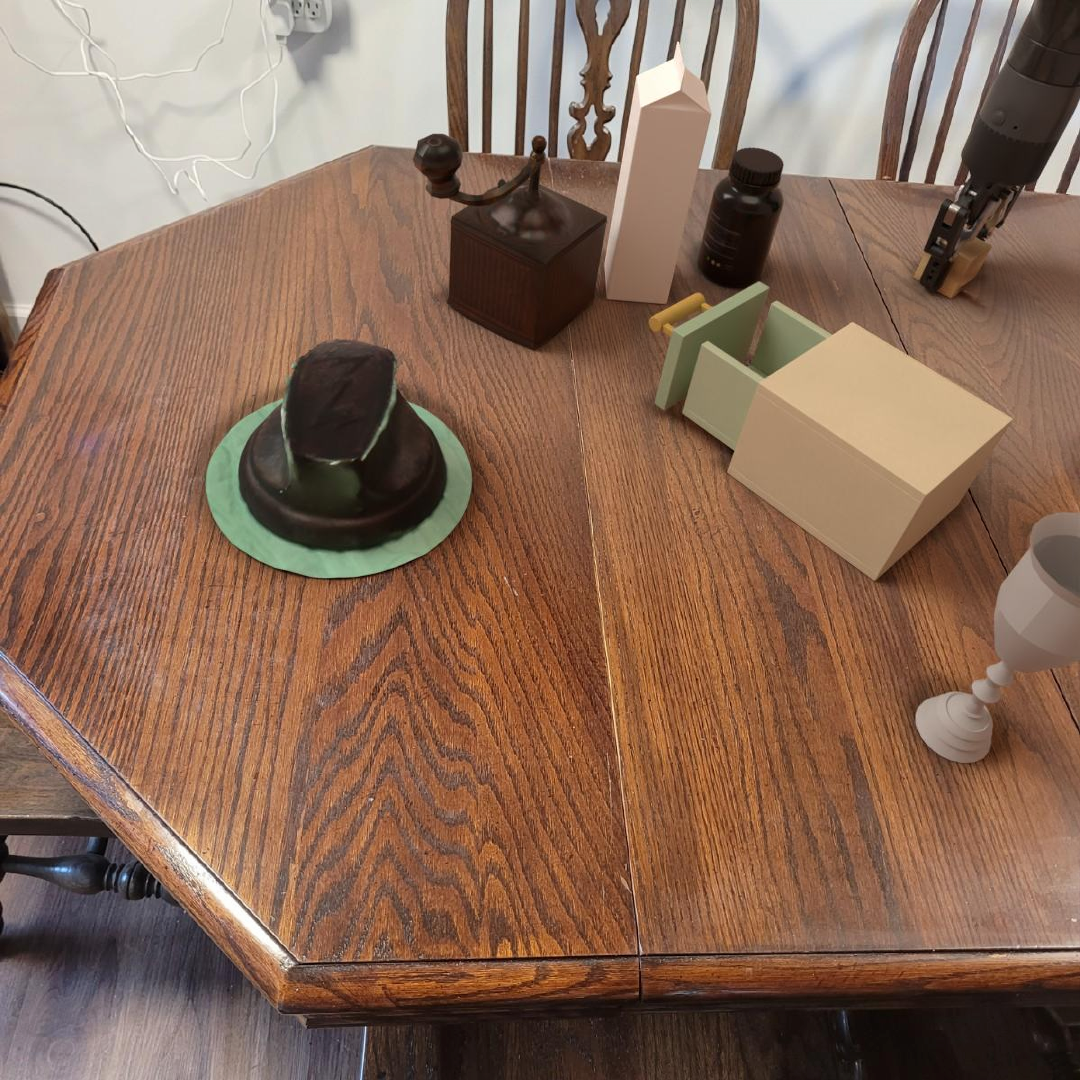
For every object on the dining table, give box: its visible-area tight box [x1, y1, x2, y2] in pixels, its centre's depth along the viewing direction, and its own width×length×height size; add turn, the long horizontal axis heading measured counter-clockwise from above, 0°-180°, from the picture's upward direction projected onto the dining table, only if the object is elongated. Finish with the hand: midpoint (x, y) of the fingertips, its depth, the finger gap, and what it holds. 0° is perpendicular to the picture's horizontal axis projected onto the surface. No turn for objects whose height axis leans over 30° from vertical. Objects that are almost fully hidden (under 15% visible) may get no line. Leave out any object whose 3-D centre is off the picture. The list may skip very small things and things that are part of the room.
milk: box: [603, 41, 712, 305], centre depth 85 cm, size 6×6×22 cm
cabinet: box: [727, 321, 1013, 582], centre depth 74 cm, size 15×13×10 cm
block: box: [913, 238, 993, 299], centre depth 98 cm, size 5×5×5 cm
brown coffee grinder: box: [412, 133, 608, 350], centre depth 81 cm, size 16×11×18 cm
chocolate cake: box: [205, 338, 473, 579], centre depth 71 cm, size 15×19×20 cm
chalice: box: [915, 511, 1080, 764], centre depth 56 cm, size 7×7×18 cm
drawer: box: [648, 280, 833, 451], centre depth 79 cm, size 18×11×8 cm, turn 44°
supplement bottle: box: [697, 146, 785, 288], centre depth 92 cm, size 7×7×12 cm
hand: (944, 276), depth 99 cm, fingers open, 5 cm apart
